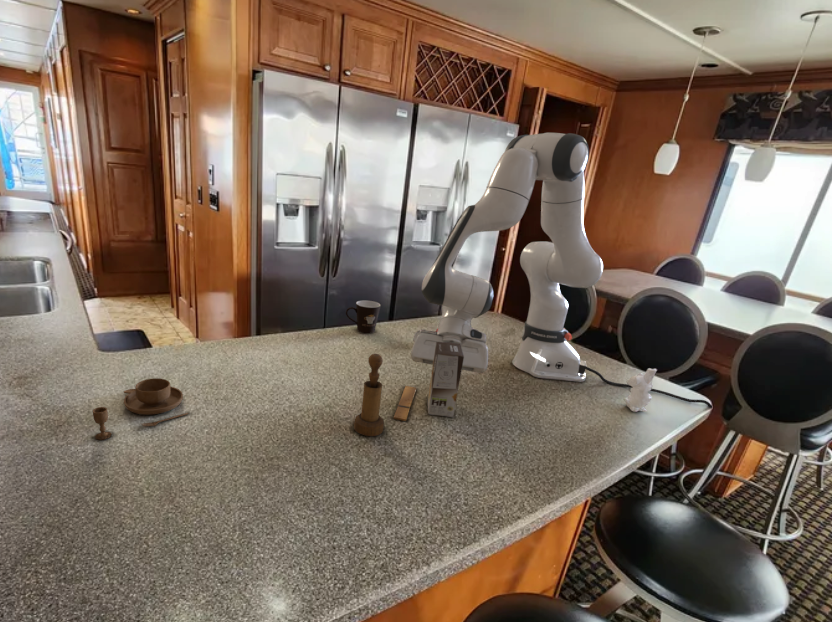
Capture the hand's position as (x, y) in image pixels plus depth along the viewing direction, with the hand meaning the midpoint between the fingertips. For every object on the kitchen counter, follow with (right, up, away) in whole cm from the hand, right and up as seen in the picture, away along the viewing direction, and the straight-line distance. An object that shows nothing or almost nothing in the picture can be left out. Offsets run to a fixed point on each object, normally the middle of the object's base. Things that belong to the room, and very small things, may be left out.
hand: (444, 381), depth 118 cm
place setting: (-70, -5, -18) cm, 73 cm away
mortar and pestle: (-19, -10, -16) cm, 27 cm away
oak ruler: (-10, -5, -3) cm, 12 cm away
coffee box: (-2, -6, -3) cm, 7 cm away
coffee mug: (-24, +15, +47) cm, 54 cm away
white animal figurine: (+53, -8, +8) cm, 55 cm away
